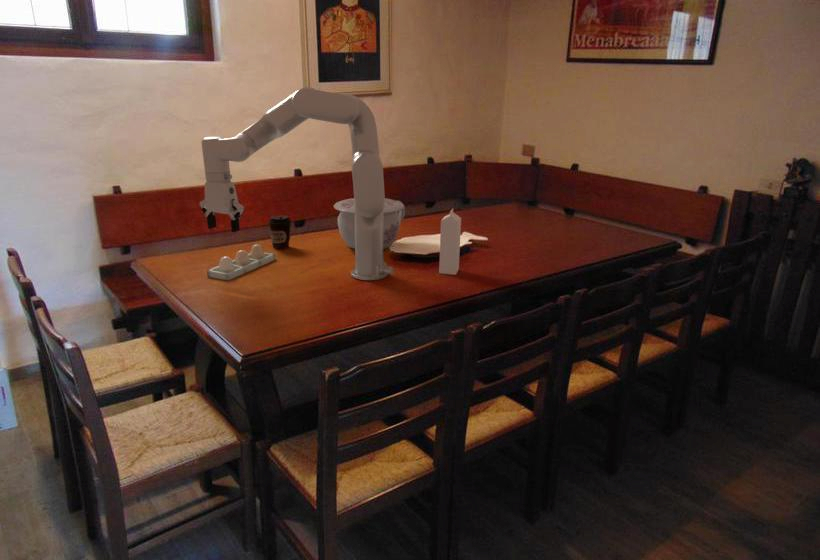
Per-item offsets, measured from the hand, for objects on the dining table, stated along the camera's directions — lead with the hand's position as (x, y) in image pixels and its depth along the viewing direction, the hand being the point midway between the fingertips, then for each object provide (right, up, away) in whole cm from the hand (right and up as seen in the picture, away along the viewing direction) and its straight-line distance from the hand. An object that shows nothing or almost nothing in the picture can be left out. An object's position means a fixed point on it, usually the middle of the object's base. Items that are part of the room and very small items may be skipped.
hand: (224, 229), depth 191 cm
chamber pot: (+45, -3, +42) cm, 62 cm away
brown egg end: (+6, -10, +19) cm, 22 cm away
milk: (+74, -14, +15) cm, 77 cm away
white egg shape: (-1, -15, +5) cm, 15 cm away
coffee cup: (+11, -5, +36) cm, 38 cm away
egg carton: (-1, -12, +14) cm, 19 cm away
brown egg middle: (+3, -12, +12) cm, 17 cm away
